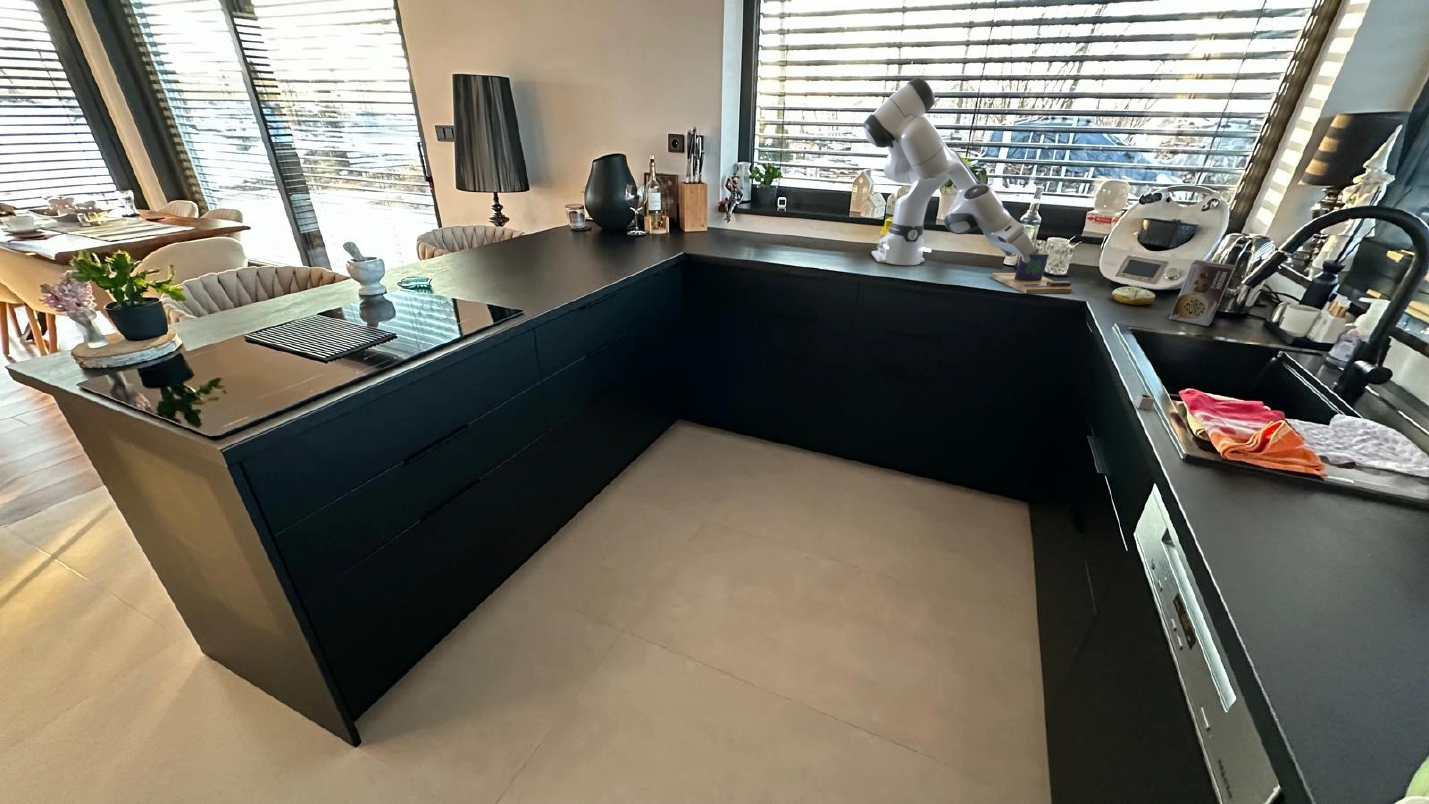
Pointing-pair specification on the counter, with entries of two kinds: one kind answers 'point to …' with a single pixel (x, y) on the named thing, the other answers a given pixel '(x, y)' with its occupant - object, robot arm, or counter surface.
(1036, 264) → the flask
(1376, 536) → the counter surface
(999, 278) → the cutting board
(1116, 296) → the decorated donut
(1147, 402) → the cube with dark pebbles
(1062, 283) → the knife
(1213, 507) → the counter surface
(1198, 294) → the coffee box
